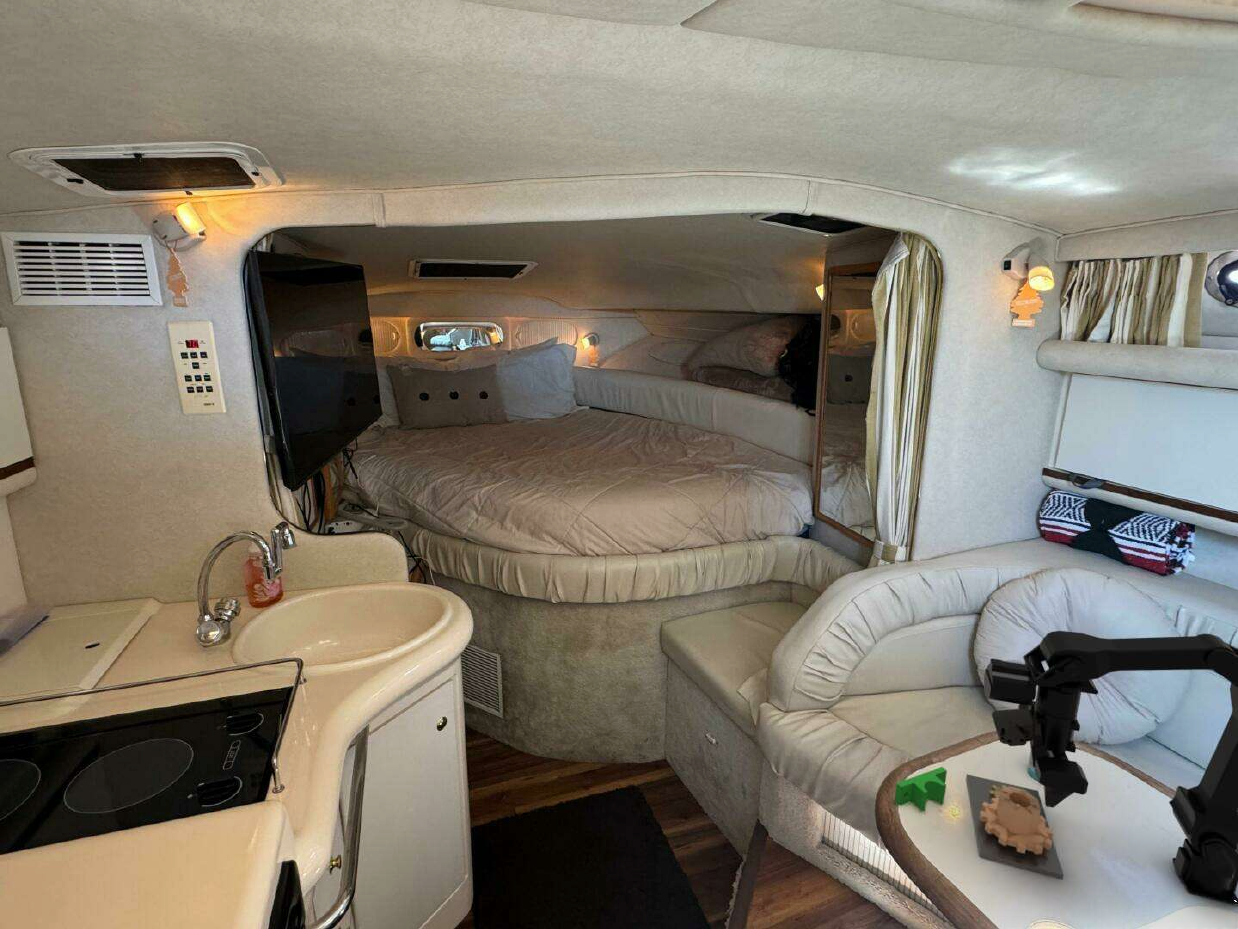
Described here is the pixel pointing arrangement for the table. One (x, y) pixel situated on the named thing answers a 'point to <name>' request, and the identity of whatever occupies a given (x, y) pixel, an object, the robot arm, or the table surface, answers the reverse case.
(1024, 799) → the planet gear
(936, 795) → the pipe clamp
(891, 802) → the table surface
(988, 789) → the carrier plate
